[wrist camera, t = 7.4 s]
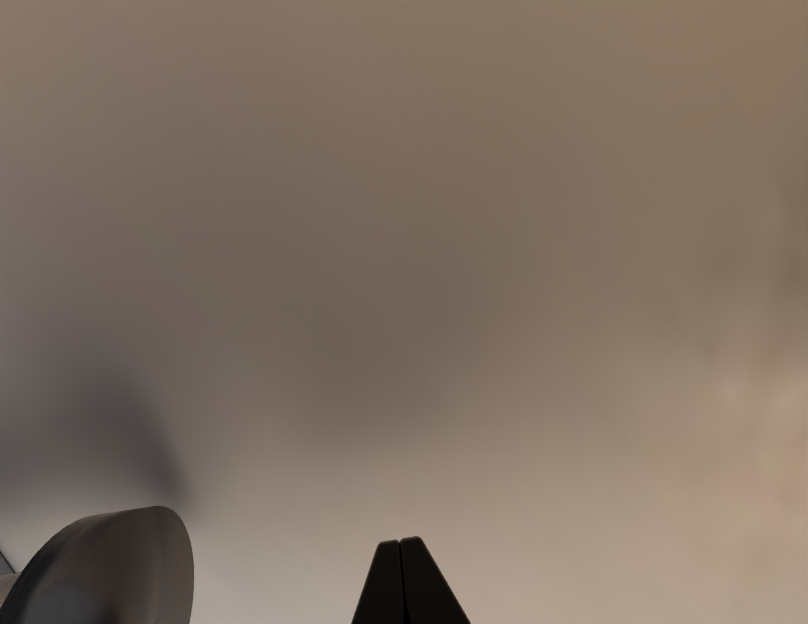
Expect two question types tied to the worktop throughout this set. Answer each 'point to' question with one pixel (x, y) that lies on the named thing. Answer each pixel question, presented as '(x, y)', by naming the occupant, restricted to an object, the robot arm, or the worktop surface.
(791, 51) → the worktop surface
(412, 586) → the robot arm
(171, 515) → the pin
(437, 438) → the worktop surface
